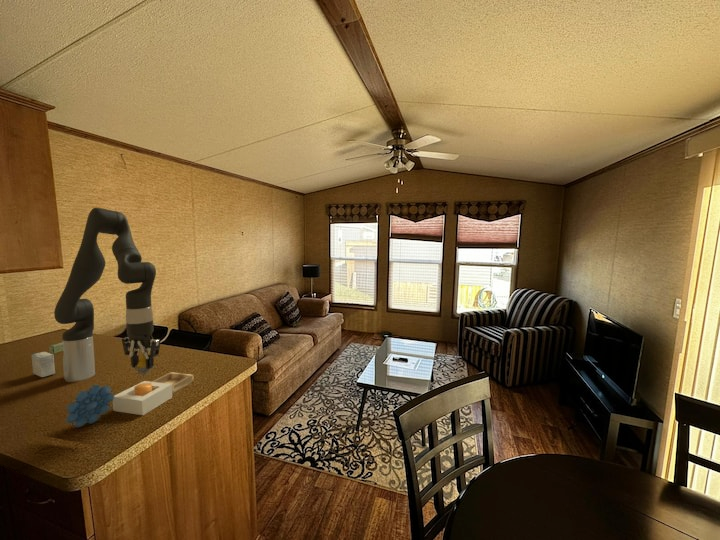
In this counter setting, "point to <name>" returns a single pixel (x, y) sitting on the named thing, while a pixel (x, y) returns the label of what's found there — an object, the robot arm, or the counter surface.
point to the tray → (176, 380)
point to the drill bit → (142, 366)
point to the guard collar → (142, 399)
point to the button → (143, 389)
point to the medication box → (56, 348)
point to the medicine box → (43, 364)
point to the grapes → (89, 405)
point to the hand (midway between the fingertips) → (142, 367)
